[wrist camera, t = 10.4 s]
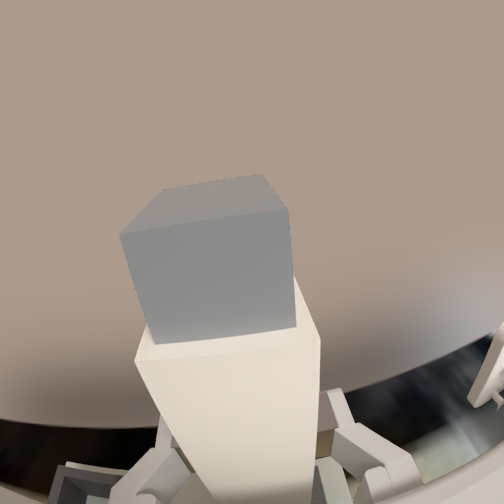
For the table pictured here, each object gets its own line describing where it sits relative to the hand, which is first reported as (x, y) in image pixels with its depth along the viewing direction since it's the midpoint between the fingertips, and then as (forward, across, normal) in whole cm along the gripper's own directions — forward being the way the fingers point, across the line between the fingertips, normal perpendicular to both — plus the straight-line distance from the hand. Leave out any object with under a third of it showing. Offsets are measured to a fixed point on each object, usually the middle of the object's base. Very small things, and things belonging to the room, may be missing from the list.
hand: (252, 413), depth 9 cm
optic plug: (-1, 0, +8) cm, 9 cm away
